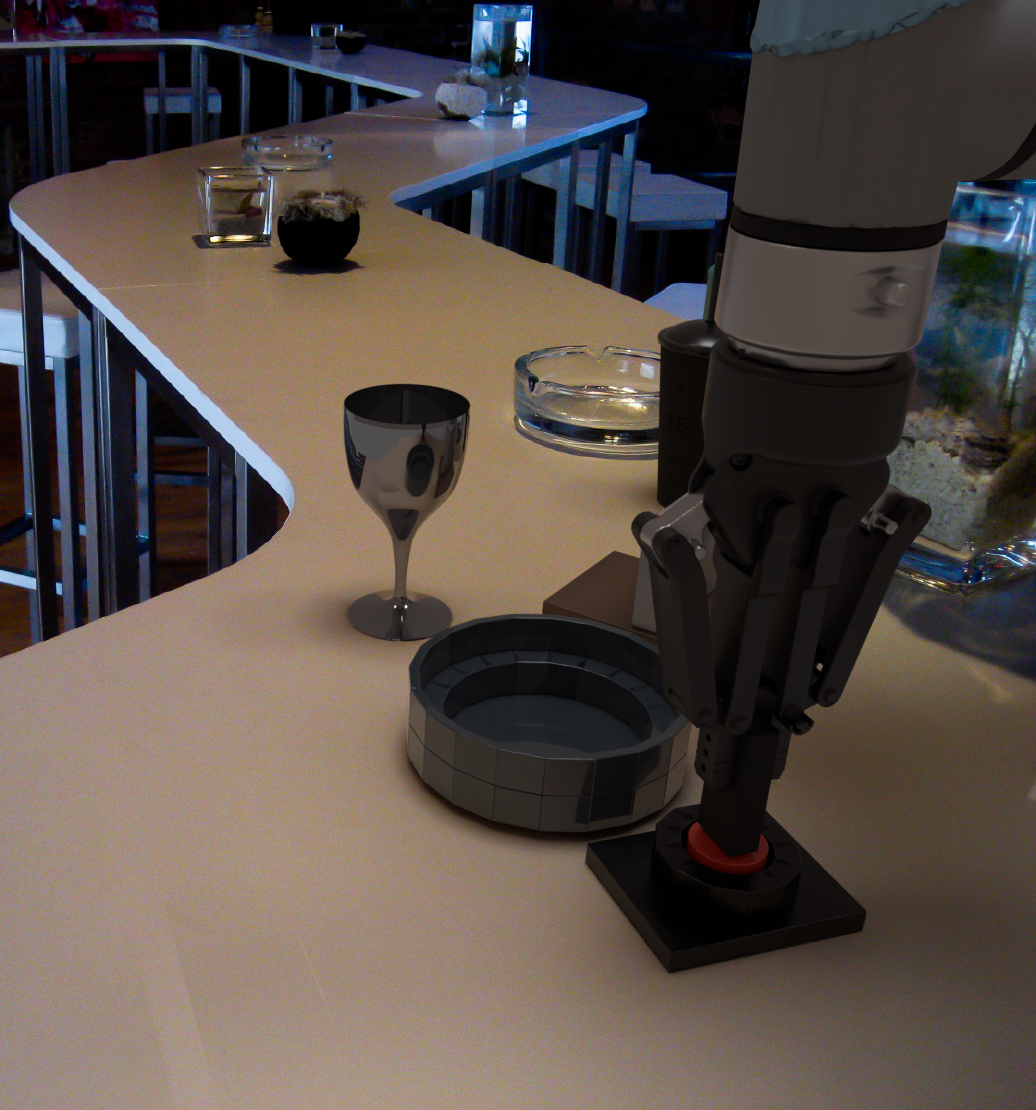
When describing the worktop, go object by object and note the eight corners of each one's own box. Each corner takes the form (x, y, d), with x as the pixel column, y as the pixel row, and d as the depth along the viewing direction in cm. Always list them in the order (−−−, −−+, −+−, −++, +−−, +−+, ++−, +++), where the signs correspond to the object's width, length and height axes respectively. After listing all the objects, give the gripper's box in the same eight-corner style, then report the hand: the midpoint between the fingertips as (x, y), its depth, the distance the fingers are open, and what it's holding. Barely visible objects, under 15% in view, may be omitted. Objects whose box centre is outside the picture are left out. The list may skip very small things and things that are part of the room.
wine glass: (394, 577, 93) (400, 375, 86) (482, 614, 88) (496, 403, 81) (316, 614, 88) (317, 403, 81) (405, 656, 83) (413, 434, 76)
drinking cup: (659, 476, 110) (689, 238, 101) (749, 496, 106) (788, 251, 97) (623, 505, 104) (651, 256, 96) (717, 528, 100) (755, 270, 92)
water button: (735, 840, 63) (740, 811, 62) (778, 887, 60) (784, 857, 59) (669, 853, 62) (673, 823, 62) (710, 901, 59) (715, 871, 58)
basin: (601, 670, 81) (609, 599, 79) (739, 813, 68) (753, 732, 66) (370, 706, 77) (371, 632, 75) (468, 864, 64) (473, 780, 62)
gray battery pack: (692, 575, 87) (706, 475, 84) (721, 584, 86) (736, 482, 83) (631, 625, 81) (644, 519, 78) (661, 635, 80) (675, 527, 77)
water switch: (761, 828, 67) (770, 779, 65) (863, 931, 60) (875, 879, 58) (584, 862, 64) (590, 812, 63) (668, 974, 57) (677, 921, 56)
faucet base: (807, 642, 84) (814, 608, 83) (747, 706, 77) (753, 670, 76) (610, 581, 92) (614, 549, 91) (539, 634, 85) (542, 600, 84)
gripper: (718, 386, 45) (641, 914, 56) (1026, 357, 49) (900, 862, 59) (615, 330, 52) (563, 812, 62) (892, 307, 55) (799, 769, 65)
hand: (727, 836), depth 60 cm, fingers closed
